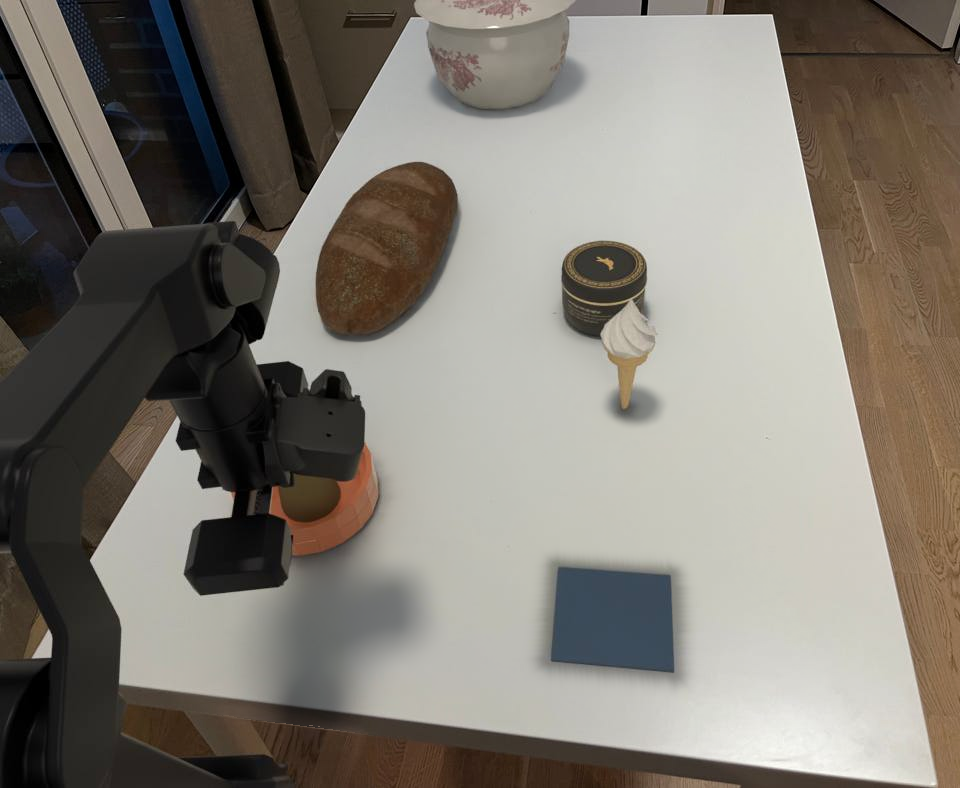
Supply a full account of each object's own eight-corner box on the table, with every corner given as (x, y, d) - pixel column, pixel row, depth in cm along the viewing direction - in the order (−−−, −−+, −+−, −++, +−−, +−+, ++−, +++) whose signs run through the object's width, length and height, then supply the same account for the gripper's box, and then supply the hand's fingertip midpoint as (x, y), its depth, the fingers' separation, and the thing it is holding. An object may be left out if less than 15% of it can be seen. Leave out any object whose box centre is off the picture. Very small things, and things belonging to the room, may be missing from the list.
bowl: (327, 578, 74) (316, 551, 70) (216, 528, 79) (202, 500, 76) (404, 474, 82) (397, 445, 79) (299, 435, 87) (289, 406, 84)
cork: (336, 521, 78) (310, 447, 70) (275, 523, 78) (243, 449, 70) (344, 473, 82) (321, 398, 74) (287, 475, 82) (258, 401, 75)
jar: (587, 280, 103) (588, 230, 97) (658, 304, 98) (663, 253, 93) (546, 323, 97) (544, 272, 92) (619, 351, 93) (622, 299, 87)
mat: (551, 661, 66) (551, 659, 66) (558, 568, 72) (558, 566, 72) (673, 672, 65) (674, 670, 64) (670, 576, 71) (670, 575, 71)
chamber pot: (551, 136, 131) (549, 3, 116) (401, 120, 139) (382, -5, 125) (595, 66, 149) (598, -56, 134) (460, 56, 157) (449, -60, 143)
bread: (476, 189, 121) (471, 137, 115) (412, 347, 96) (402, 292, 90) (378, 185, 124) (369, 135, 118) (292, 337, 99) (275, 283, 93)
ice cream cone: (653, 425, 84) (665, 315, 73) (600, 428, 84) (605, 318, 74) (646, 388, 88) (656, 279, 77) (595, 391, 88) (599, 282, 78)
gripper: (338, 502, 45) (383, 631, 56) (350, 292, 58) (385, 432, 69) (141, 523, 45) (227, 648, 56) (197, 309, 58) (258, 446, 69)
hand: (283, 532), depth 62 cm, fingers open, 9 cm apart
